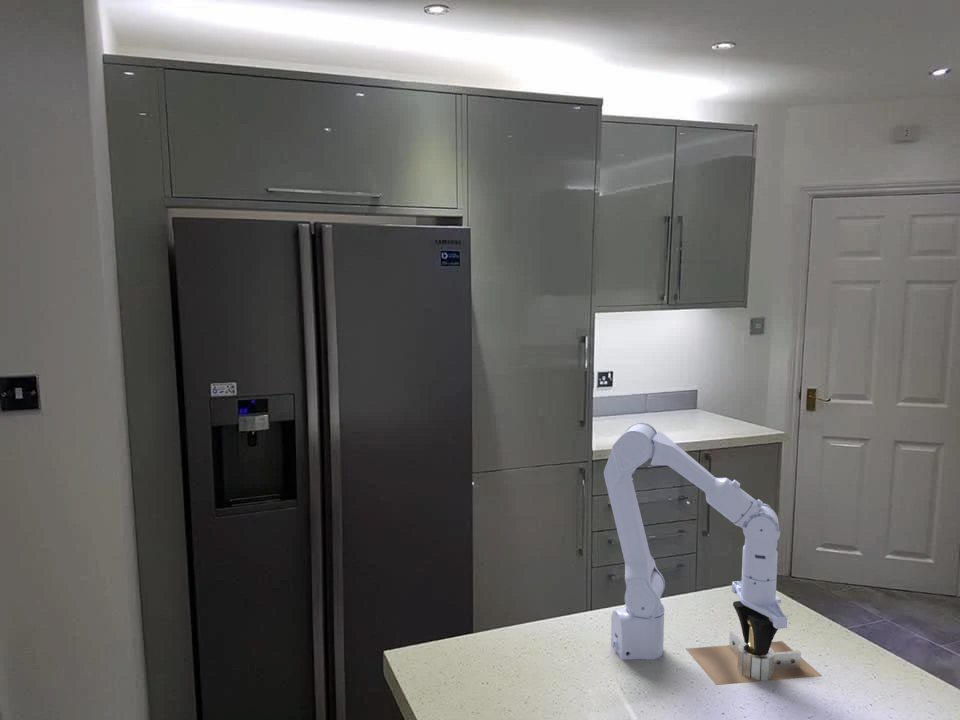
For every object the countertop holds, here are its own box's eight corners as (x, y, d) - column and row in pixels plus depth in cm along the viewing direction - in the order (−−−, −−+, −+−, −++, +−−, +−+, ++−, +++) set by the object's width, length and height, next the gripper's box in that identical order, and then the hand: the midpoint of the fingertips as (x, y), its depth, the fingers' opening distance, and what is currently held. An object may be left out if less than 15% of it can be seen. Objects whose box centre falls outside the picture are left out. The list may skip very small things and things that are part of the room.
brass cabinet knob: (751, 663, 117) (753, 625, 117) (741, 654, 120) (743, 616, 120) (768, 662, 118) (770, 624, 117) (758, 653, 121) (760, 616, 120)
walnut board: (716, 690, 115) (716, 684, 115) (685, 653, 127) (685, 648, 127) (821, 680, 118) (821, 675, 118) (781, 645, 130) (782, 641, 130)
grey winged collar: (748, 681, 116) (749, 660, 116) (716, 647, 127) (716, 627, 127) (809, 676, 118) (810, 655, 117) (772, 643, 129) (772, 623, 129)
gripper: (805, 590, 111) (801, 668, 112) (757, 557, 125) (754, 626, 127) (766, 593, 110) (762, 671, 111) (722, 559, 124) (720, 628, 126)
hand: (756, 647), depth 119 cm, fingers closed on brass cabinet knob, 3 cm apart
